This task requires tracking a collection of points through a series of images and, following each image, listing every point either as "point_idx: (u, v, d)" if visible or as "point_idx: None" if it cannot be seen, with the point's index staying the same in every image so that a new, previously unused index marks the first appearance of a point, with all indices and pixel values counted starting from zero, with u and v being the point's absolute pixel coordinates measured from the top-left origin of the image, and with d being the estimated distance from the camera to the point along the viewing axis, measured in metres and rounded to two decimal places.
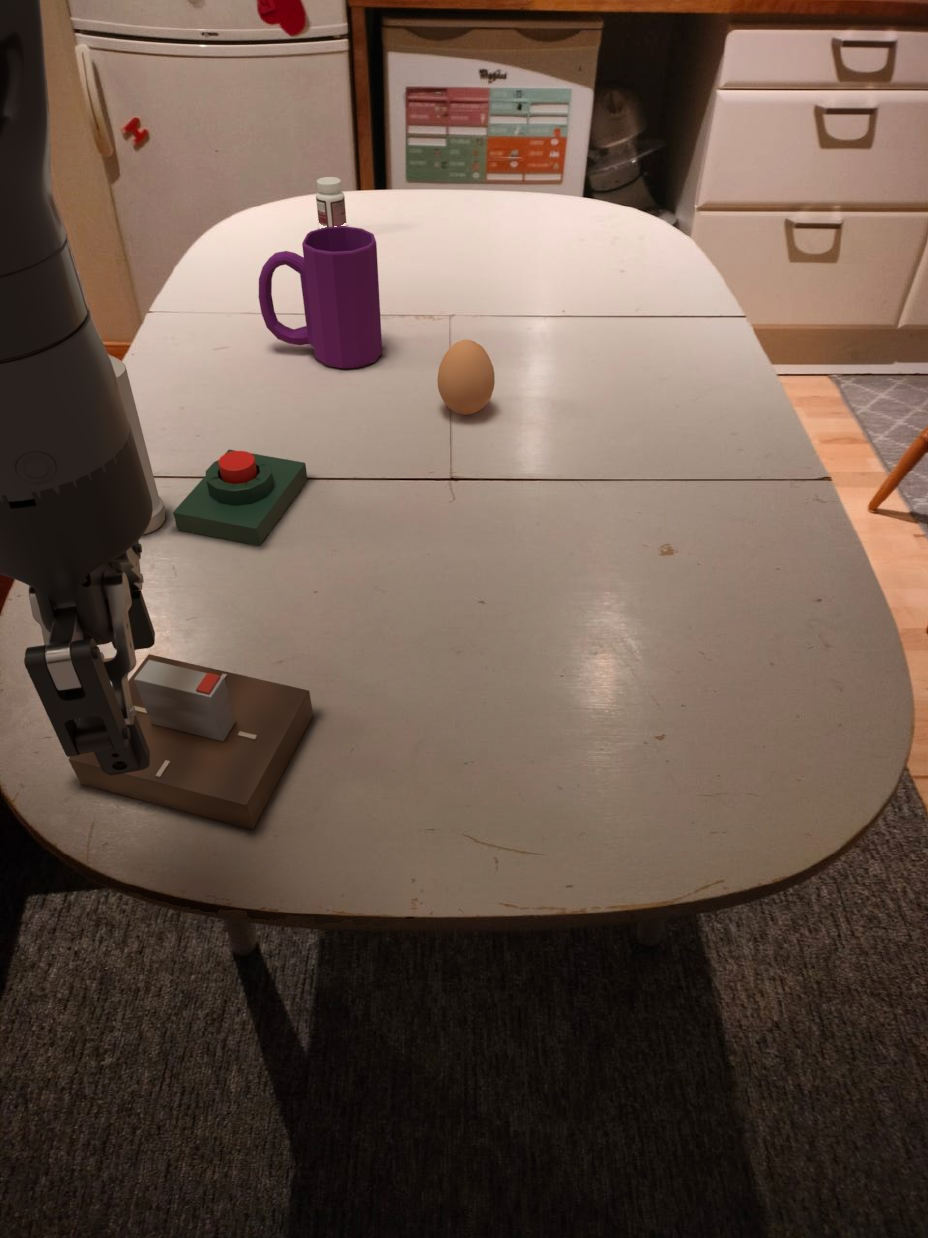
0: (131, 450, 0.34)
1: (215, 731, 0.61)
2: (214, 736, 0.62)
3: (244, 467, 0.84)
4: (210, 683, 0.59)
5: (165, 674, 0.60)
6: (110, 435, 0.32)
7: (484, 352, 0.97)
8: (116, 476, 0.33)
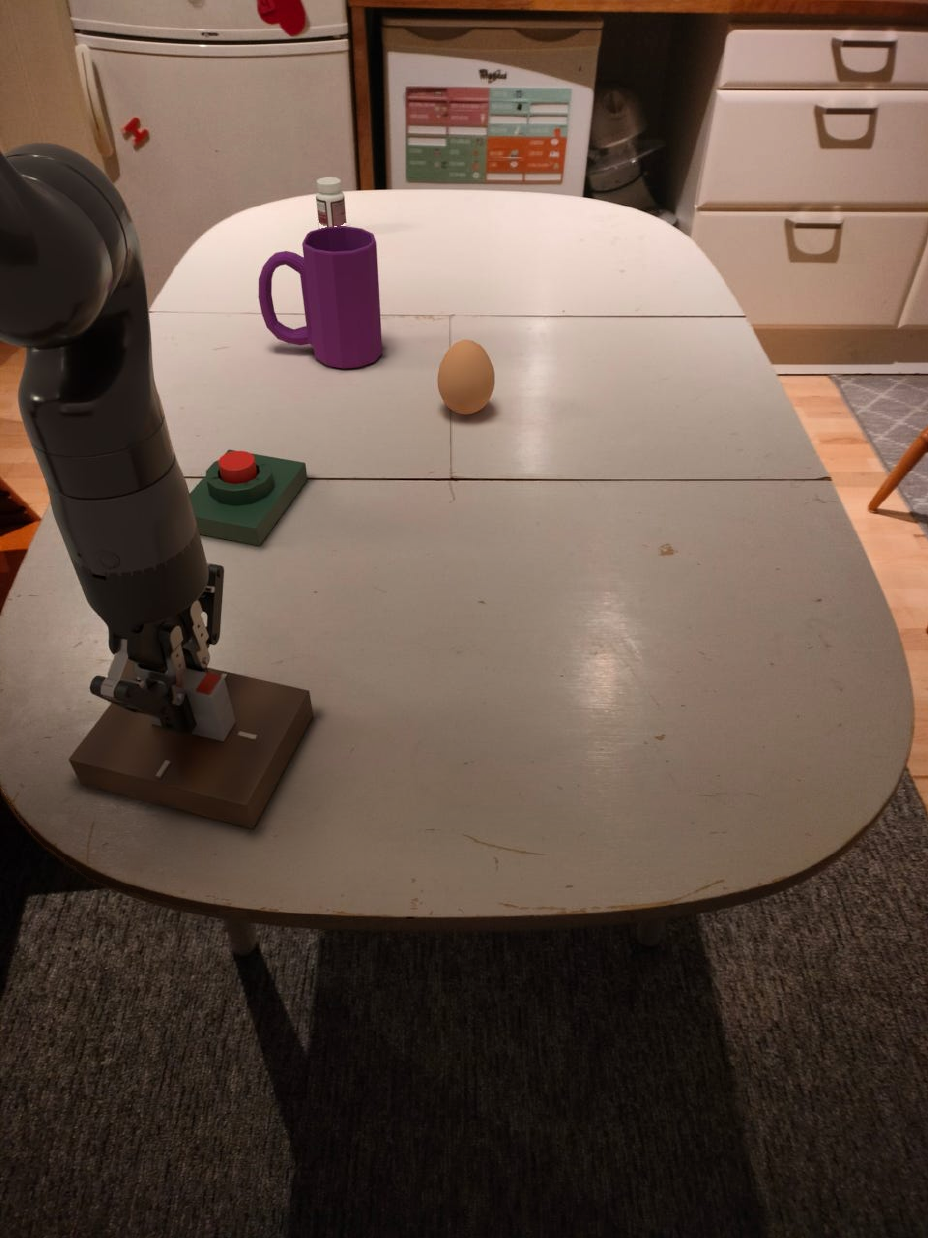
0: (185, 556, 0.50)
1: (215, 731, 0.61)
2: (215, 736, 0.62)
3: (244, 467, 0.84)
4: (210, 683, 0.59)
5: None
6: (164, 548, 0.48)
7: (484, 352, 0.97)
8: (165, 573, 0.49)
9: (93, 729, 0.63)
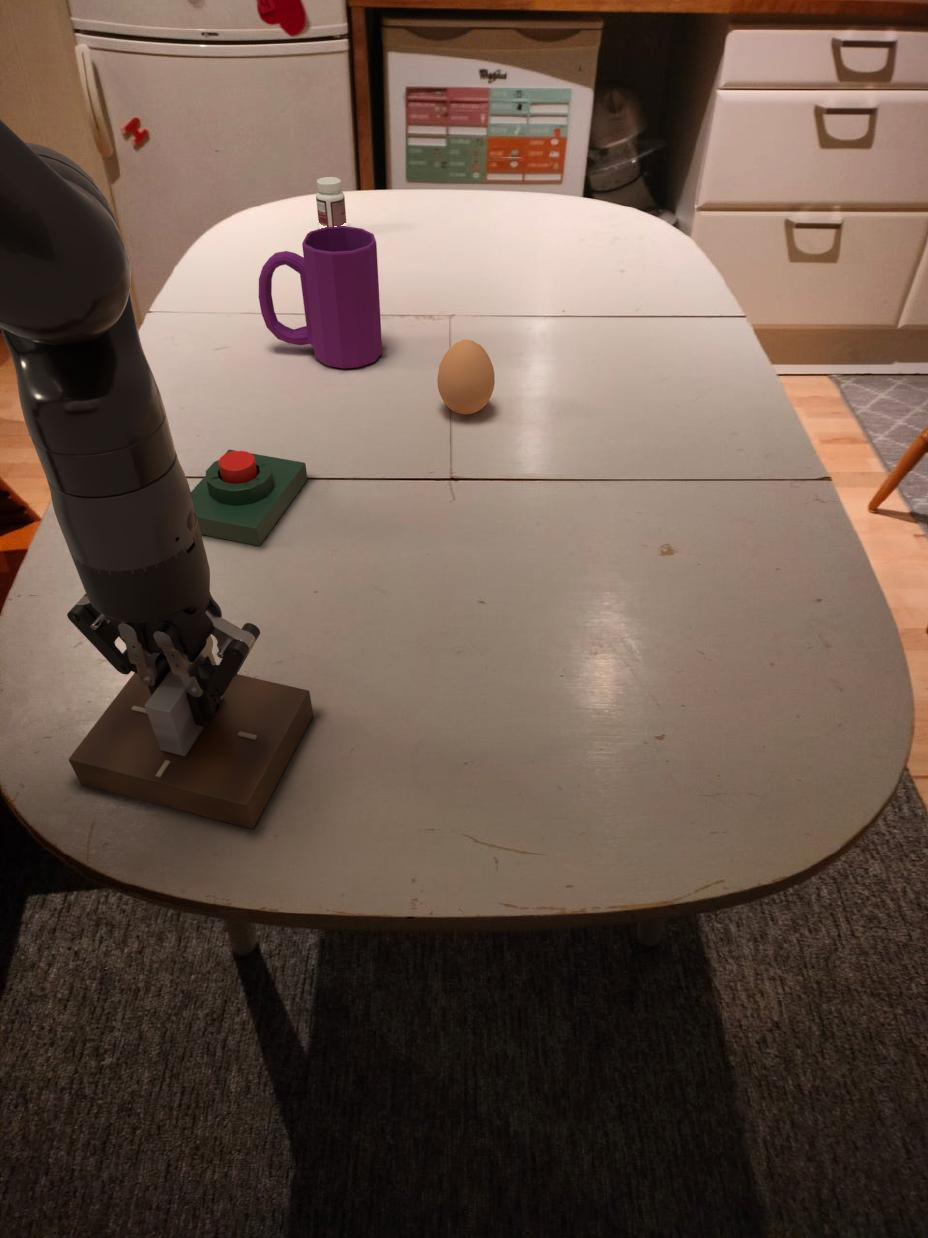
0: None
1: None
2: None
3: (244, 467, 0.84)
4: None
5: (171, 688, 0.59)
6: None
7: (484, 352, 0.97)
8: None
9: (93, 729, 0.63)
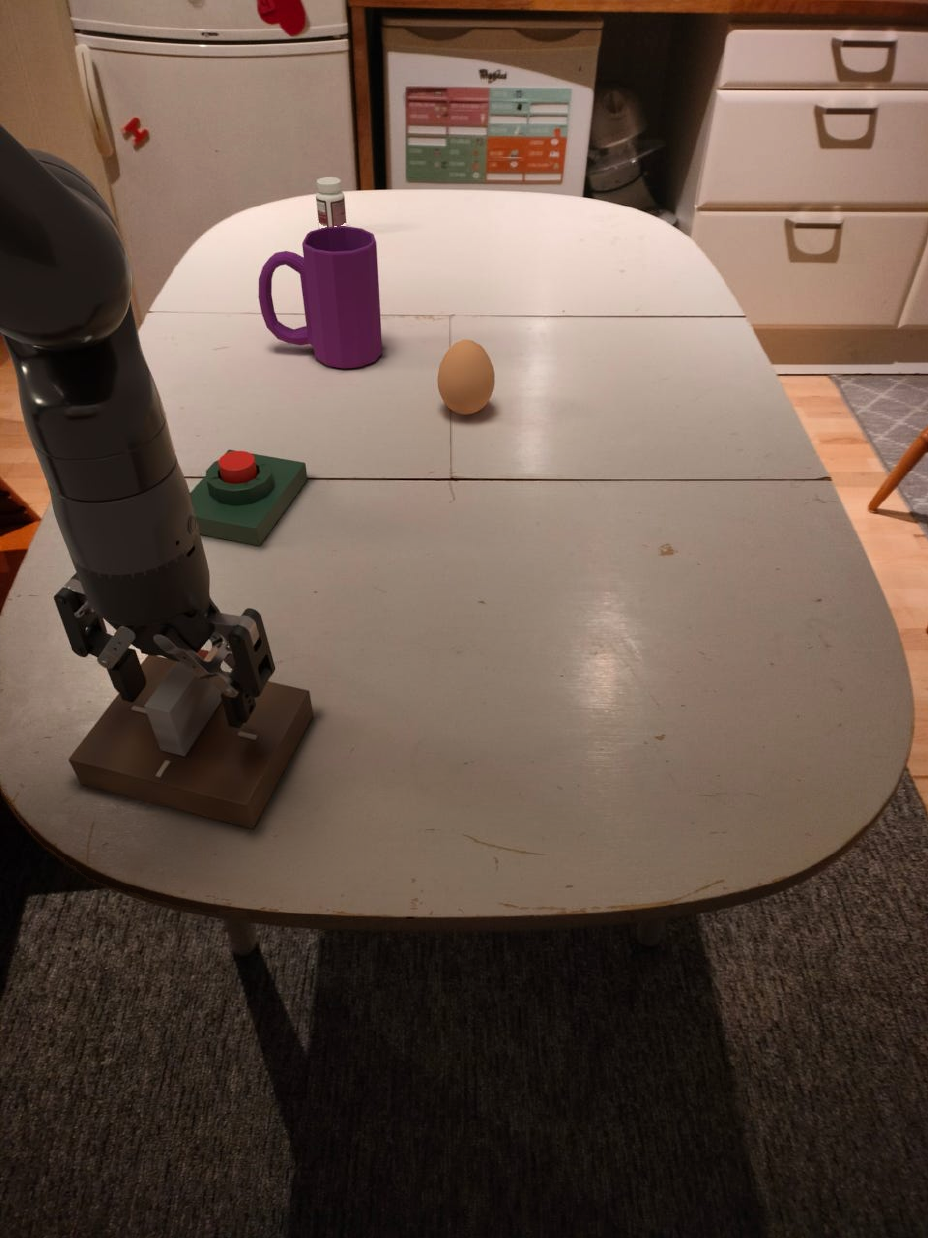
0: None
1: (219, 691, 0.64)
2: (219, 699, 0.64)
3: (244, 467, 0.84)
4: None
5: (171, 688, 0.59)
6: None
7: (484, 352, 0.97)
8: None
9: (93, 729, 0.63)
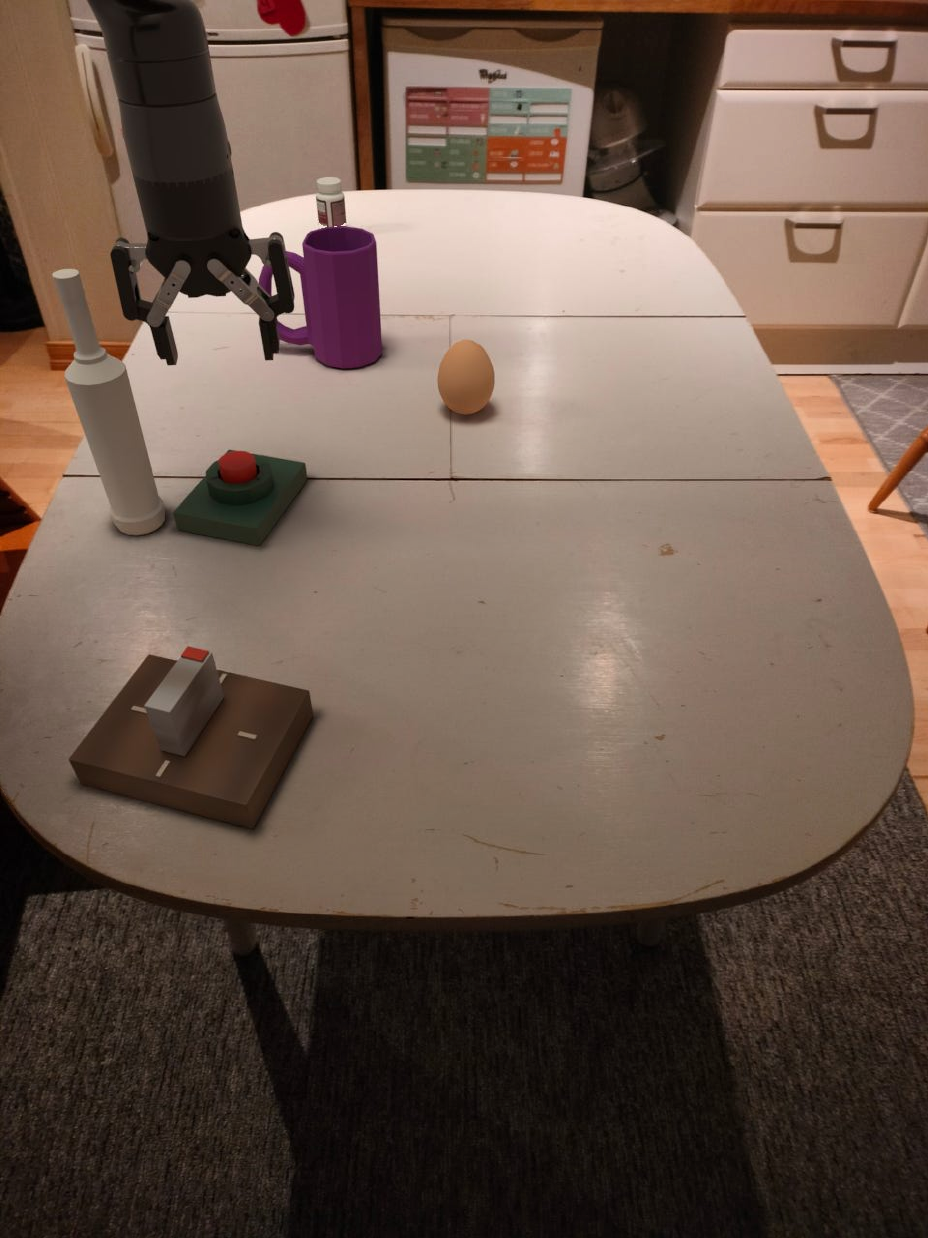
0: None
1: (219, 691, 0.64)
2: (219, 699, 0.64)
3: (244, 467, 0.84)
4: (196, 651, 0.61)
5: (171, 688, 0.59)
6: None
7: (484, 352, 0.97)
8: None
9: (93, 729, 0.63)
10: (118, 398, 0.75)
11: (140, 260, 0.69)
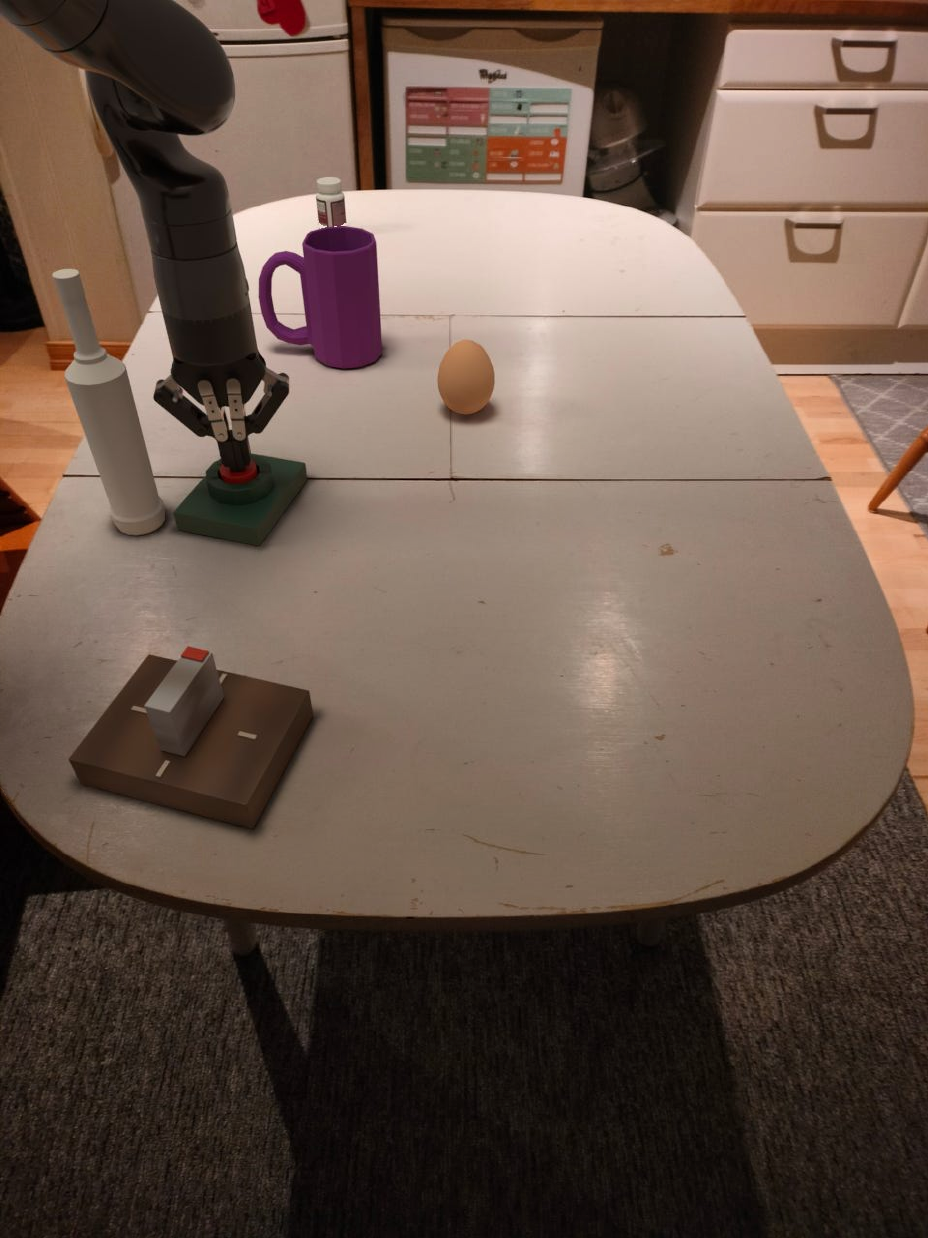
0: None
1: (219, 691, 0.64)
2: (219, 699, 0.64)
3: (245, 475, 0.84)
4: (196, 651, 0.61)
5: (171, 688, 0.59)
6: None
7: (484, 352, 0.97)
8: None
9: (93, 729, 0.63)
10: (118, 398, 0.75)
11: (177, 388, 0.78)
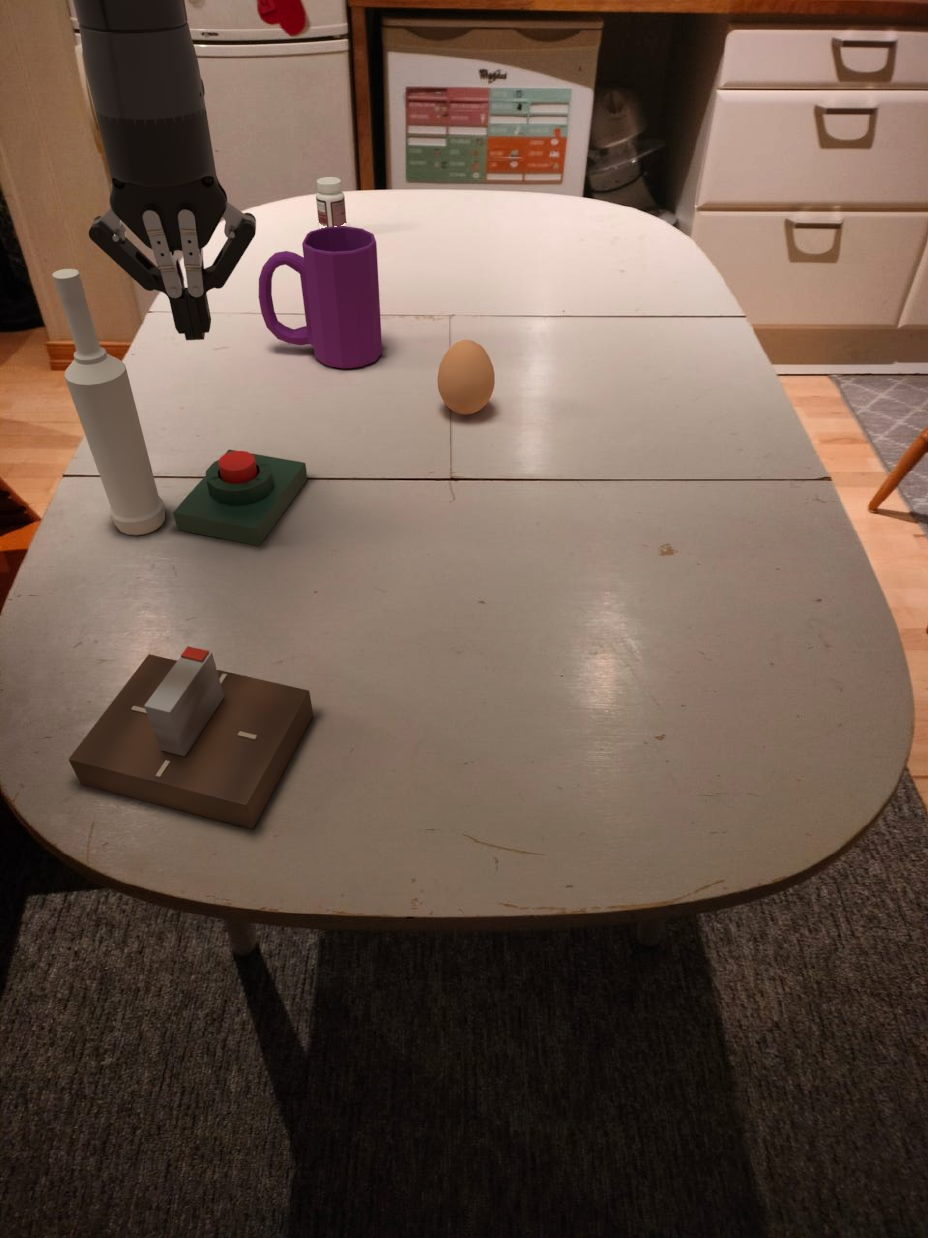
0: None
1: (219, 691, 0.64)
2: (219, 699, 0.64)
3: (244, 467, 0.84)
4: (196, 651, 0.61)
5: (171, 688, 0.59)
6: None
7: (484, 352, 0.97)
8: None
9: (93, 729, 0.63)
10: (118, 398, 0.75)
11: (118, 224, 0.64)
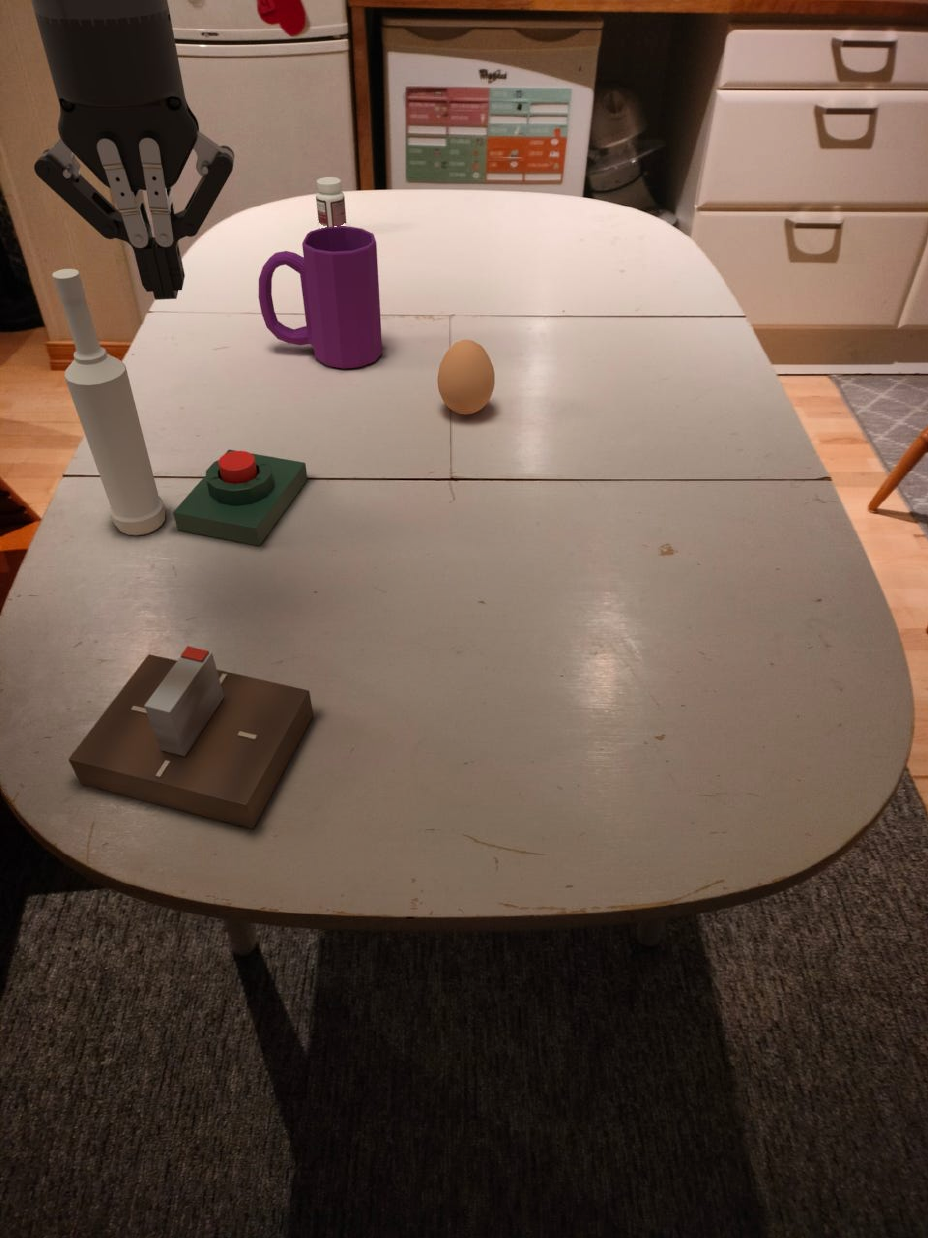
0: None
1: (219, 691, 0.64)
2: (219, 699, 0.64)
3: (244, 467, 0.84)
4: (196, 651, 0.61)
5: (171, 688, 0.59)
6: None
7: (484, 352, 0.97)
8: None
9: (93, 729, 0.63)
10: (118, 398, 0.75)
11: (69, 158, 0.54)
